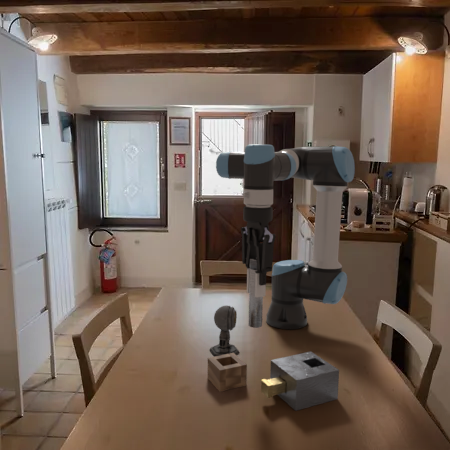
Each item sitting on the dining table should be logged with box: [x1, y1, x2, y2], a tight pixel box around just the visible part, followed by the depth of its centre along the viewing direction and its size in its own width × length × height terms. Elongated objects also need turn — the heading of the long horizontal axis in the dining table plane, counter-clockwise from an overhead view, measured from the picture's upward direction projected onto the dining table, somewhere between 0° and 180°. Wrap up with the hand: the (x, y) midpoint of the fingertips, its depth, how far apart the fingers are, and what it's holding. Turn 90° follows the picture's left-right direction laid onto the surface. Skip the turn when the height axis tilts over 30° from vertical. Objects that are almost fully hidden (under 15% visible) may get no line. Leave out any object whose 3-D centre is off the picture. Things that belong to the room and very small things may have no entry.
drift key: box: [260, 377, 287, 399], centre depth 117 cm, size 3×9×3 cm, turn 116°
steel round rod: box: [248, 258, 264, 329], centre depth 120 cm, size 4×4×18 cm
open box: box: [207, 353, 248, 392], centre depth 126 cm, size 8×8×6 cm
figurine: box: [209, 305, 240, 357], centre depth 144 cm, size 9×10×15 cm
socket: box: [269, 350, 340, 412], centre depth 120 cm, size 12×13×8 cm
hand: (255, 293), depth 120 cm, fingers closed on steel round rod, 3 cm apart
